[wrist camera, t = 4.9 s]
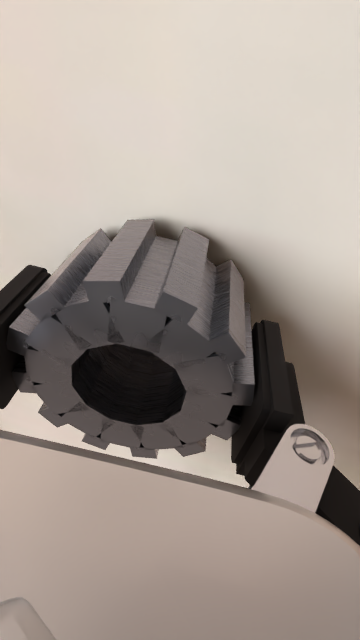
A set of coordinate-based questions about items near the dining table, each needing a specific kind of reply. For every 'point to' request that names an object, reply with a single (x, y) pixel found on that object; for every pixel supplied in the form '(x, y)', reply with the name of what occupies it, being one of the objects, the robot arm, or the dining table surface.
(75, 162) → the dining table surface
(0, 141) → the dining table surface
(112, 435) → the loose gear
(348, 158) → the dining table surface
